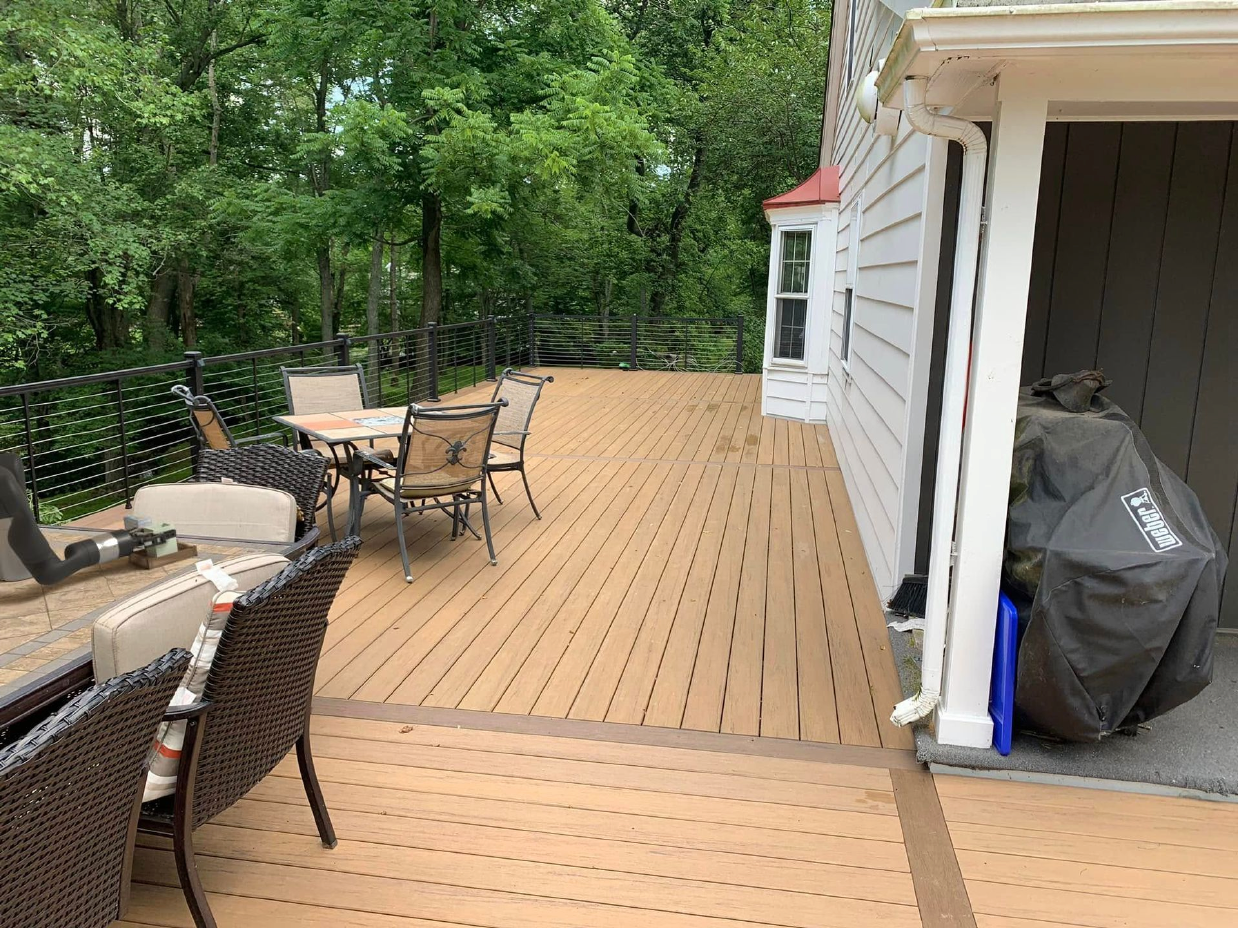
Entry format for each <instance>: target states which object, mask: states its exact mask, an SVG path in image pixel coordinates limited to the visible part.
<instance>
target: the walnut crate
mask: <svg viewBox="0 0 1238 928" xmlns="http://www.w3.org/2000/svg"><path fill="white" fill-rule="evenodd" d="M176 541H177V549H178V552H174V553H171V554H167V555H163V556H160V557H156V558H151V557H149V558H148V555H147V549H146V548H141V549H137V550H133V553H132V554H131V555H129V556H127V558H128V562H129V563H131V564H134V565H136V566H140V567H142V568H144V569H147V570H153V569H157V568H160V567H164V566H167V565H171V564H175V563H177V562H181V561H184V560H189V559H192V558H194V557H193V556H196V557H198V556H199V555H198V554H199V553H198V548H197V547H198V546H197V545H194V544H193V545H191V544H189V543H186V542H182V541H179V540H178V539H177V538H176ZM191 557H192V558H191ZM188 558H189V559H188Z"/></svg>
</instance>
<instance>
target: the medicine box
mask: <svg viewBox="0 0 1238 928" xmlns="http://www.w3.org/2000/svg"><path fill="white" fill-rule="evenodd" d="M123 525H124V530H127V529H131V528H134V527H137V529H138V528H143V527H147V526H151V525H154V522H153V518H152V516H150V515H147V514H146V515H145V514H141V513H133V514H128V515H126V516H123ZM143 529H144V528H143ZM140 548H141V549H144V546H143V547H140Z"/></svg>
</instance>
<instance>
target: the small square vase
mask: <svg viewBox="0 0 1238 928" xmlns="http://www.w3.org/2000/svg"><path fill="white" fill-rule="evenodd" d="M143 528H144V533H145V532H154V533H160V532H164V531H168V530H171V529H175V530H176V528H175V524H174V523H171V522H166V521H163V522H160V523H155V524H153V525H151V526H147V527H143ZM149 537H151V536H150V535H149ZM176 539H177V536H176V537H174V538H170V539H167V540H166V543H165V544H161V545H157V546H154V547H150V548H147V555H148V558H149V557H151V558H156V557H160V556H163V555H167V554H171V553H174V552H178V549H177V541H176ZM157 540H159V538H158V539H157Z"/></svg>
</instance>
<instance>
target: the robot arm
mask: <svg viewBox="0 0 1238 928" xmlns="http://www.w3.org/2000/svg"><path fill="white" fill-rule="evenodd" d="M33 512H34V511H32V508H31V506H30V503H29V498H28V493H27V485H26V477H25V466H24V462H23V459H22V457H21V455H20V454H18V453H16V452H11V453H0V579H1V581H3V580H5V581H4V582H14V581H15V582H16V581H22V580H26V579H30V578H33V579H34V581H36V582H37V583H38V584H40V585H42V586H53V585H55V584H58V583H61V582H63V580H65V579H66V578H68V577H70V576H71V575H73V574H75V573H78V572H79V571H80V570H83V569H86V568H90V567H93V566H96V565H99V564H105V563H110V562H112V561H116V560H119V559H122V558H126V557H128V556H129V555H131V554H132V553H133V551H135V548H141V547H143V546H144V548H146V549H147V548H150V547H154V546H157V545H161V544H165V543H166V540H167V539H170V538H174V537H176V538H177V530H176V528H175V529H171V530H168V531H164V532H160V533H154V532H145V533H144V529H143V528H138V529H137V527H134V528H131V529H127V530H125V528H120V529H116V530H113V531H108V532H106V533H102V534H98V535H95V536H92V537H90V538H86V539H83V540H79V541H75V542H73V543H70V544H68V545H67V546H66V547H65V548H64V551H63V554H64V555H63V556H64V560H61V558H60V557H59V556H58V555H57V554H56V552H55V551H54V549H52V547H51V546H50V544H49V542H48V540H47V538H46V537H45V535H44V534H43V532H42V530H41V529H40V527H39V526H38V523H37V521H36V518H35V515H34V513H33ZM149 535H150V536H151V537H149ZM158 538H159V540H157V539H158ZM144 548H143V549H144Z"/></svg>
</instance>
